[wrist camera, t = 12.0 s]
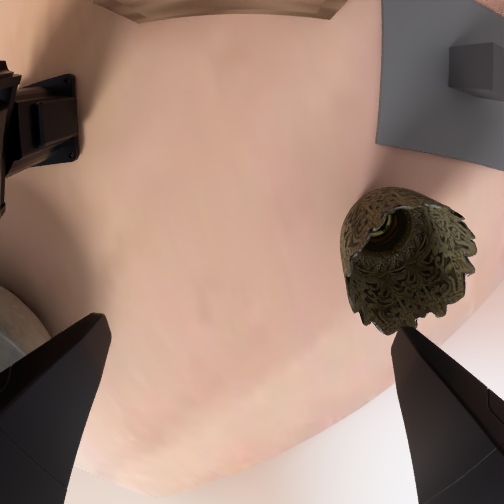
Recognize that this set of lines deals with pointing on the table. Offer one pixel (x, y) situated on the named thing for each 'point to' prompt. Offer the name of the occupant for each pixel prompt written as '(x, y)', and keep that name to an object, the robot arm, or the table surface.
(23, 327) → the bowl
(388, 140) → the lid
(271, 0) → the walnut box
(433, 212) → the cup
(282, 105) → the table surface
